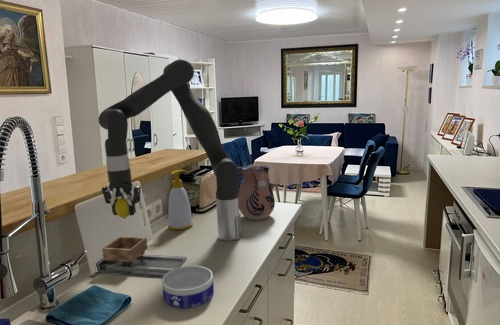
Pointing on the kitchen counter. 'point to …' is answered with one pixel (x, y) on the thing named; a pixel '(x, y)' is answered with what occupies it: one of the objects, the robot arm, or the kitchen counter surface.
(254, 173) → the ceramic pitcher
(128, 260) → the wooden tray box
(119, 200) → the lemon
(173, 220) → the soap bottle
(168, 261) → the track
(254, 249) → the kitchen counter surface
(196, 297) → the dog bowl
